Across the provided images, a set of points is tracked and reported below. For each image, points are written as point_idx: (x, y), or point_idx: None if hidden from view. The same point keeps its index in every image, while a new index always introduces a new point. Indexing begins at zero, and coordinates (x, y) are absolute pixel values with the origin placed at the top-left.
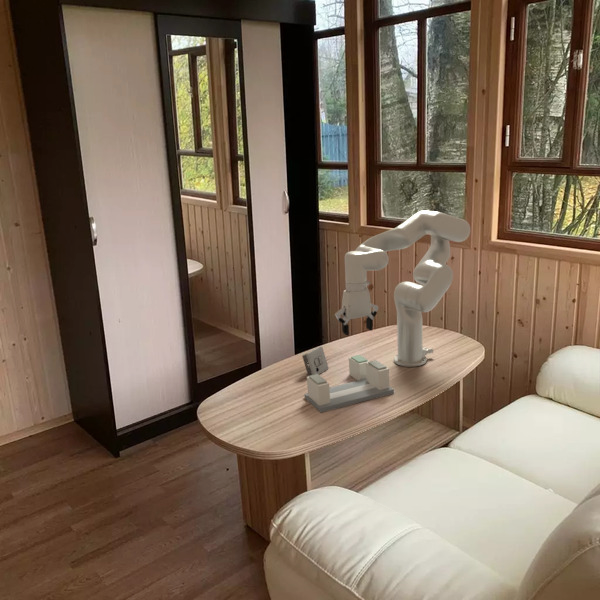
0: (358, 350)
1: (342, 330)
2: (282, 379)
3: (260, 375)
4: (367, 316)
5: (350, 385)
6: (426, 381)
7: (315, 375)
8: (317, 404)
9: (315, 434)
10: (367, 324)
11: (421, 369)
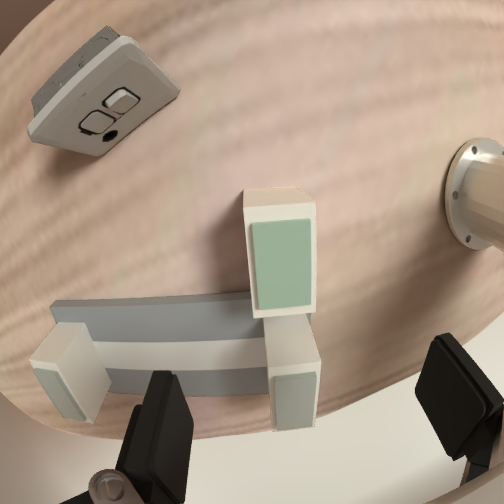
0: None
1: (134, 415)
2: (15, 138)
3: None
4: (495, 440)
5: (193, 323)
6: (419, 344)
7: (50, 380)
8: None
9: (86, 426)
10: (447, 385)
11: (465, 269)
